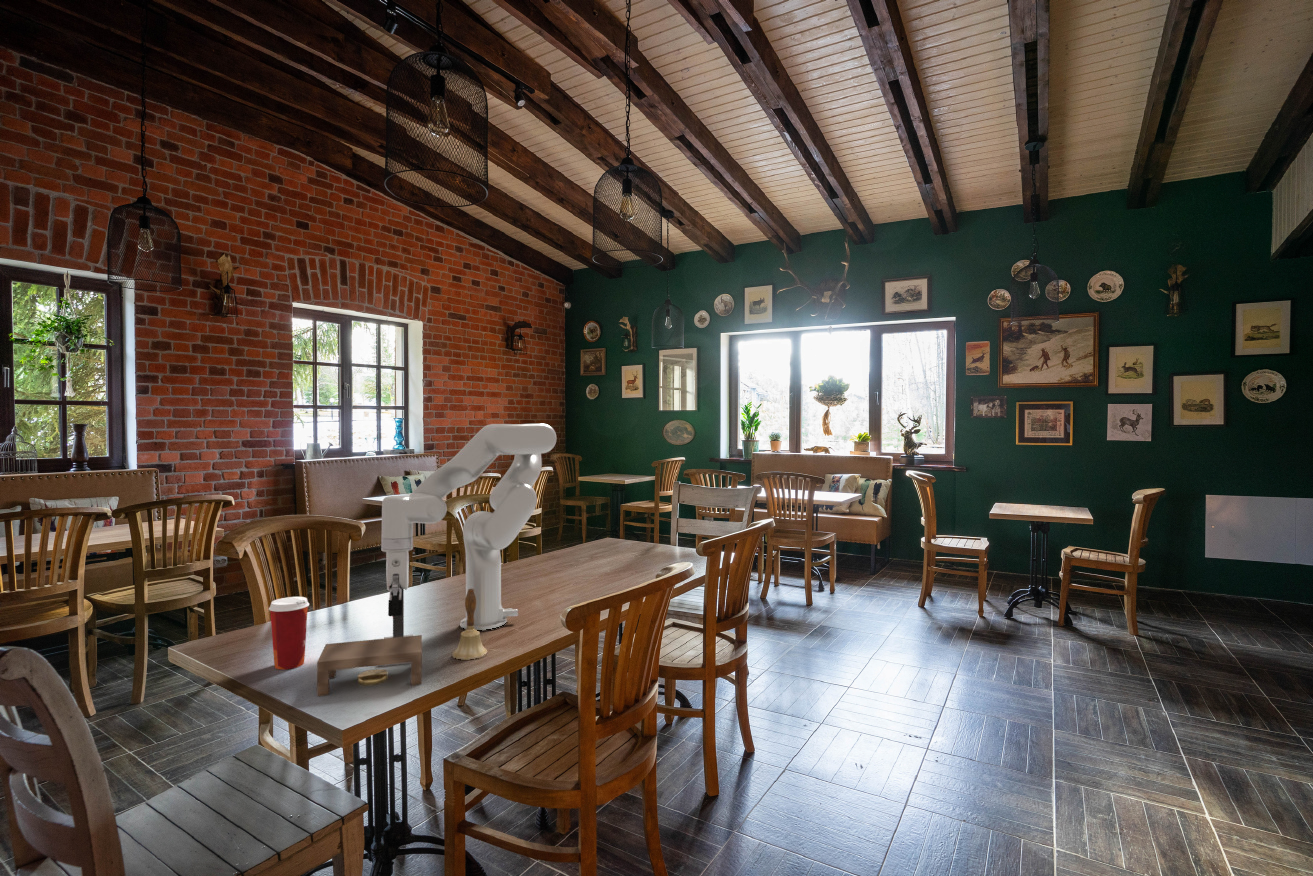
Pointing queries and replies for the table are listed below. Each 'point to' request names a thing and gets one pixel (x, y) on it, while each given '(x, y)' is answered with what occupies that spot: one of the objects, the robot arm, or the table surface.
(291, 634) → the coffee cup
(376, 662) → the walnut bench
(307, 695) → the table surface
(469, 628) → the hand bell
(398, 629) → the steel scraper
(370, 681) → the brass puck
